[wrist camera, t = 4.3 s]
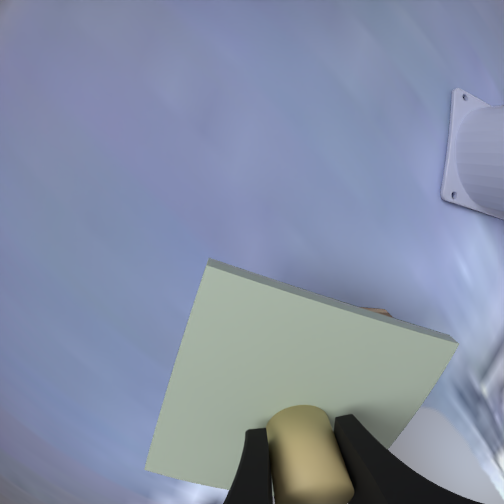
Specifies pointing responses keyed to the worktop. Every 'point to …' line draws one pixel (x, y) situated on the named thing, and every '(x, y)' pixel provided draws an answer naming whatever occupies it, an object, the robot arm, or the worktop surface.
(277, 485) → the lid
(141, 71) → the worktop surface
